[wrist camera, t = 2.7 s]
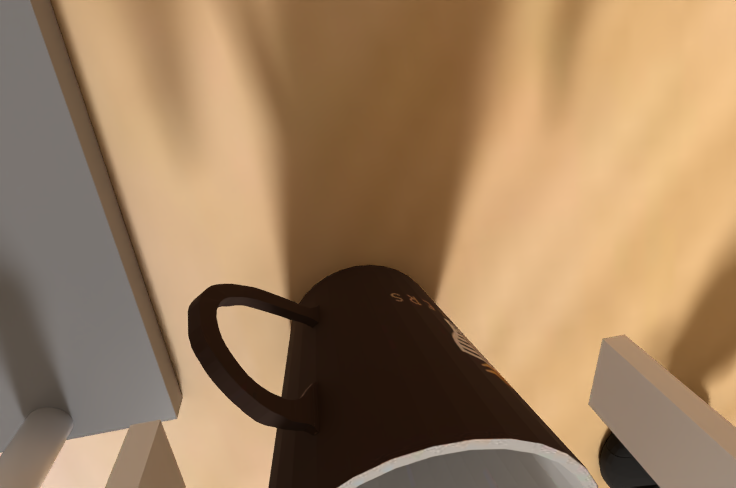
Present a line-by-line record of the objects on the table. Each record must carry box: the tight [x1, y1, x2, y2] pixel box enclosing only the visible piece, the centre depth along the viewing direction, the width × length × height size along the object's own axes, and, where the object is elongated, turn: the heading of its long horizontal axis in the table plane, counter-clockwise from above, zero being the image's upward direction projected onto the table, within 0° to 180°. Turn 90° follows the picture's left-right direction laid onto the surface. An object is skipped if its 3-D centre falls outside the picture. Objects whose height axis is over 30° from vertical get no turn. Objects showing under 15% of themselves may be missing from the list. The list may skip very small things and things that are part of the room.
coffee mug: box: [188, 265, 598, 488], centre depth 14 cm, size 12×9×10 cm
